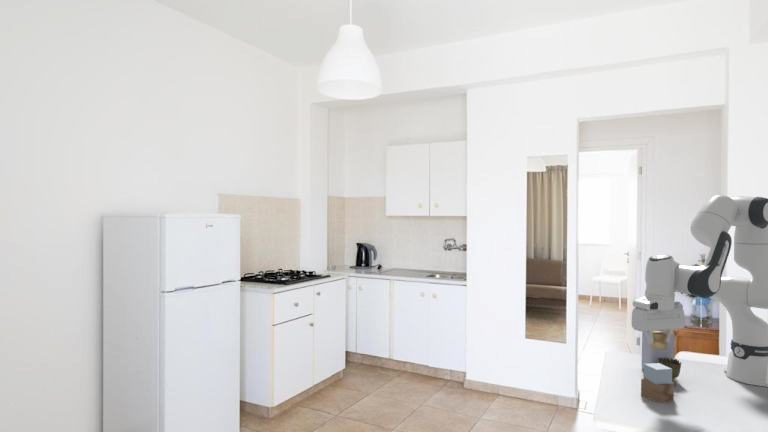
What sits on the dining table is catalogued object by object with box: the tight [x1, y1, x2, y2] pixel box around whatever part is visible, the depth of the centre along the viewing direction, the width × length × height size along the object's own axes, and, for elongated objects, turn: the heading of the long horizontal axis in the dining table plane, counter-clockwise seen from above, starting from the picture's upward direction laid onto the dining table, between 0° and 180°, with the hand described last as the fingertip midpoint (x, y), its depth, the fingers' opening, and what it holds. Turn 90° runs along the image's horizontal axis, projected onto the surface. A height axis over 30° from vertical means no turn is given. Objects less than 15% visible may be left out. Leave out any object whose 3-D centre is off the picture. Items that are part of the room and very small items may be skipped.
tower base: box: [640, 378, 675, 404], centre depth 160 cm, size 7×7×6 cm
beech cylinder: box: [650, 331, 667, 349], centre depth 159 cm, size 5×5×5 cm
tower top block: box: [643, 363, 672, 384], centre depth 160 cm, size 6×6×5 cm
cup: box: [658, 357, 682, 383], centre depth 176 cm, size 8×7×8 cm
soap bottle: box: [641, 330, 675, 370], centre depth 185 cm, size 9×9×25 cm
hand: (658, 342), depth 159 cm, fingers closed on beech cylinder, 5 cm apart
